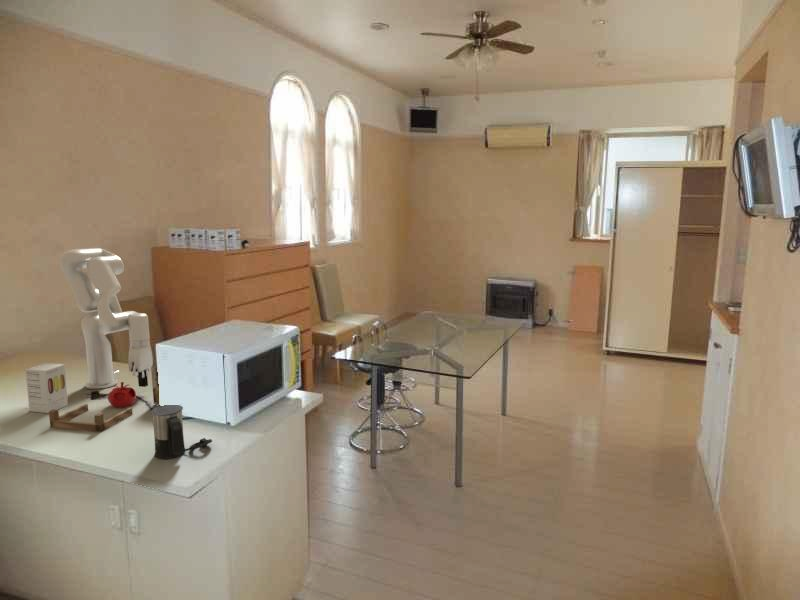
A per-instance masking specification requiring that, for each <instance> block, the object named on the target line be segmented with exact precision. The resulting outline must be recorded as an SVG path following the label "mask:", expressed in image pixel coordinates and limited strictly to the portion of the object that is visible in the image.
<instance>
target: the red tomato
mask: <svg viewBox="0 0 800 600" xmlns="http://www.w3.org/2000/svg"><path fill="white" fill-rule="evenodd" d="M128 386H129V384H125V382H123V381H121V382H120V387H119V386H118V385H114V386H113V388H112V389H111V391H110V392H109V393H108V395H107V400H108V403H109V404H110V406H112V407H114V408H118V409H119V408H121V409H123V408H126V407H129V406H132V405H133V404H134V403H135V401H136V400H137V393H136V391H135V389H134V388H133V387H130V386H129V387H128Z"/></svg>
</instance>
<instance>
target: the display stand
mask: <svg viewBox="0 0 800 600" xmlns="http://www.w3.org/2000/svg"><path fill="white" fill-rule="evenodd" d="M88 411H89V404H86V403H83V404H82V405H80V406H78V407H76V408H73V409H72V410H69V411H68V412H66V413H63V414H61V415H60V414H59V409H58V410H55V409H53V410H51V411H49V413H48V417H49V427H50V428H53V429H62V430H63V429H64V430H73V431H75V430H76V431H83V432H85V431H86V432H96V433H102V432H104V431H106V430H107V429H109V428H111V427H112V425H113V426H114V425H116V424H118V423H120V422H121V421H124V420H125V419H127V418H128V417H130V416H132V415H133V407H128V408H126V409H124V410H122V411H120V412H118V413H117V414H115V415H113V416H112V417H110V418H108V419H106V420H105V414H104V413H101V412H98V413H96V414H94V422H83V421H71V420H72V419H74V418H77V417H78V416H80V415H83V414H85V413H87V412H88ZM131 414H132V415H131ZM126 417H127V418H126ZM124 418H125V419H124ZM119 421H120V422H119Z"/></svg>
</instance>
